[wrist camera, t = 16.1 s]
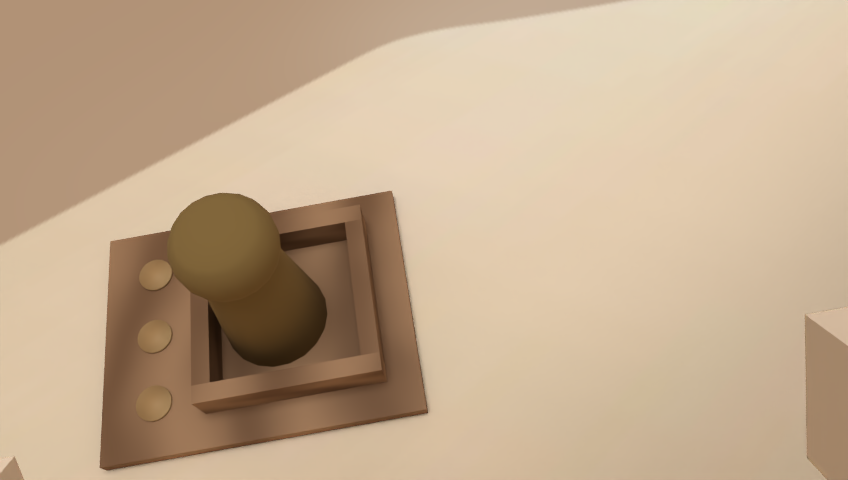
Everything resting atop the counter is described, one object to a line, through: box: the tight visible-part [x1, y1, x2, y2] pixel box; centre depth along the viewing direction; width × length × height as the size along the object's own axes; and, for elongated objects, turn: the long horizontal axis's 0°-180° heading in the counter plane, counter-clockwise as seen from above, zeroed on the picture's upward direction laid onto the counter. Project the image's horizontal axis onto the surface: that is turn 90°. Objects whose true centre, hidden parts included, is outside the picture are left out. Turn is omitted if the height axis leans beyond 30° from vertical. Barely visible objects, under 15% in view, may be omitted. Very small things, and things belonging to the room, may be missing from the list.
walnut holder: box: [100, 191, 428, 470], centre depth 42 cm, size 18×14×3 cm
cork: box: [167, 193, 328, 367], centre depth 38 cm, size 6×6×11 cm
